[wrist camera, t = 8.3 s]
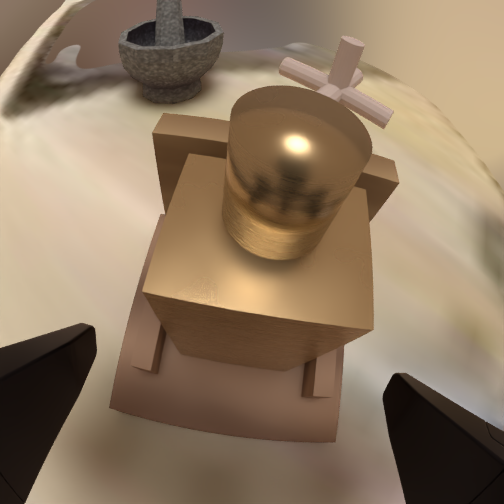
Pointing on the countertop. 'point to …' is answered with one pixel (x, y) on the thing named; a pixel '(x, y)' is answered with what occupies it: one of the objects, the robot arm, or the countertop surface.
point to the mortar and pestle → (170, 52)
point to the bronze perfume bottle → (269, 237)
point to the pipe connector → (340, 81)
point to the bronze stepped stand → (216, 373)
